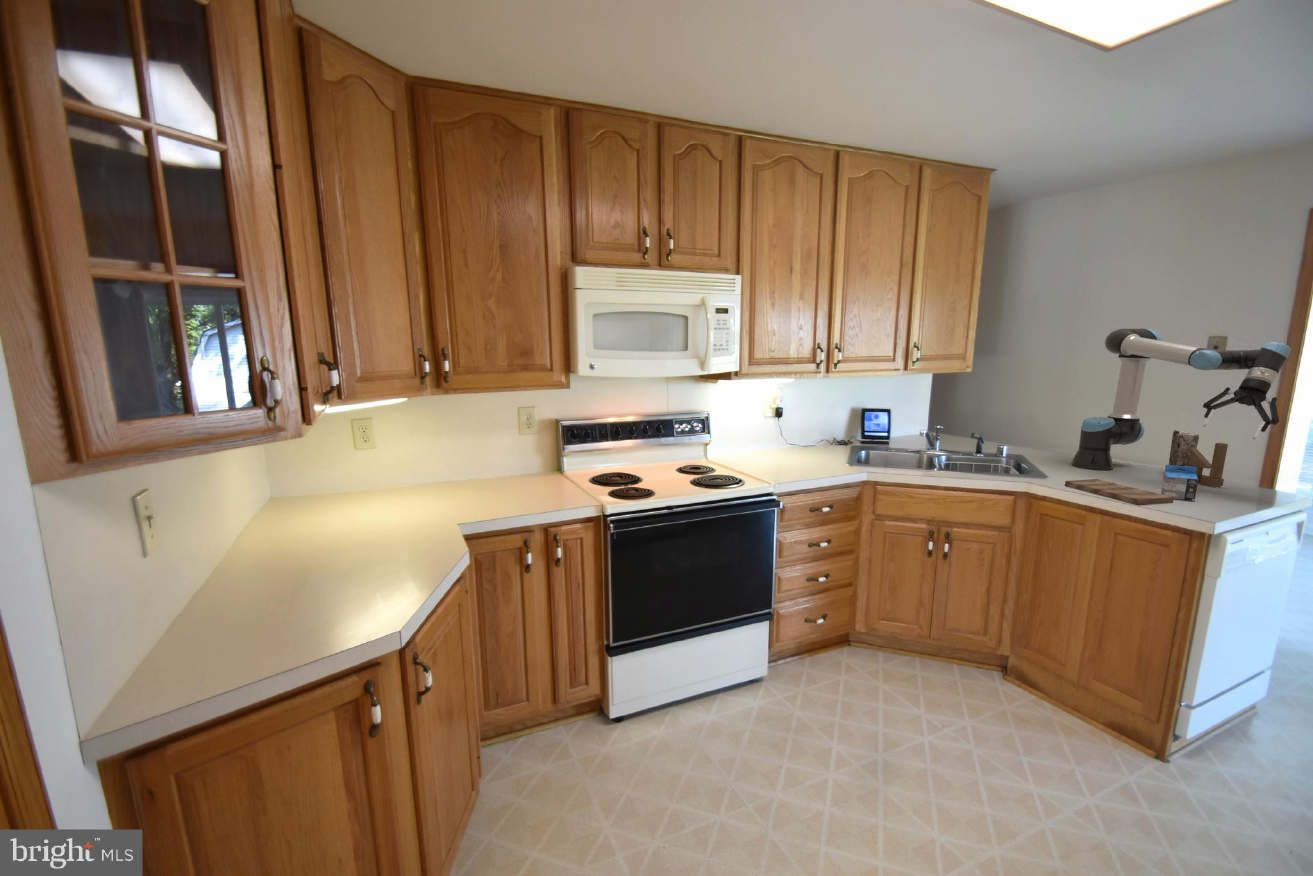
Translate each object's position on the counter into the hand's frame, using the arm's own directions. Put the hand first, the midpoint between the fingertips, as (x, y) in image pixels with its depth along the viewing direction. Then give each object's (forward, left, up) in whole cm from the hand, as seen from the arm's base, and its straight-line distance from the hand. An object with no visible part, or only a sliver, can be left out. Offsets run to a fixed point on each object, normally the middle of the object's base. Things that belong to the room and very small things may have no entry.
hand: (1228, 431), depth 199 cm
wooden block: (-15, +17, -25) cm, 34 cm away
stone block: (-29, +24, -25) cm, 45 cm away
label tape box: (-1, -18, -25) cm, 31 cm away
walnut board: (-11, -34, -25) cm, 44 cm away
